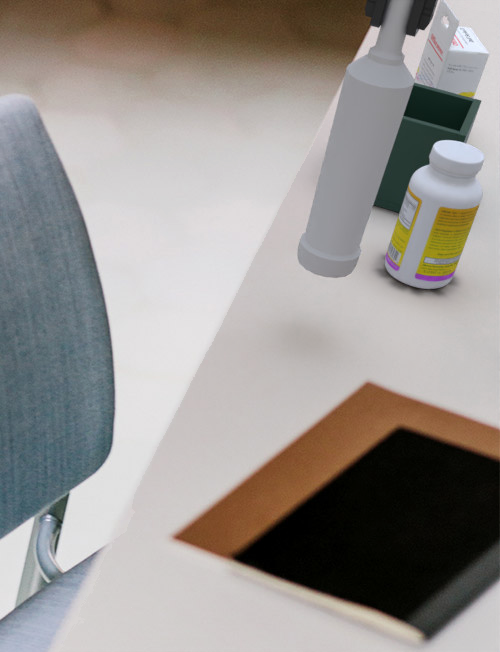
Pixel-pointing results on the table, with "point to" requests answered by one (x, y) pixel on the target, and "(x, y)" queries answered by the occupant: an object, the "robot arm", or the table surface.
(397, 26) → the bottle
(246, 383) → the table surface
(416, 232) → the supplement bottle
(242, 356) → the table surface
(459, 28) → the ink box
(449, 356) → the table surface
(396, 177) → the bin
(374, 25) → the robot arm
